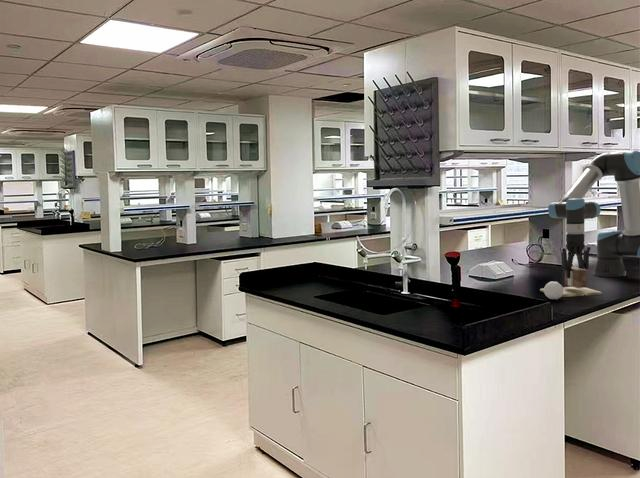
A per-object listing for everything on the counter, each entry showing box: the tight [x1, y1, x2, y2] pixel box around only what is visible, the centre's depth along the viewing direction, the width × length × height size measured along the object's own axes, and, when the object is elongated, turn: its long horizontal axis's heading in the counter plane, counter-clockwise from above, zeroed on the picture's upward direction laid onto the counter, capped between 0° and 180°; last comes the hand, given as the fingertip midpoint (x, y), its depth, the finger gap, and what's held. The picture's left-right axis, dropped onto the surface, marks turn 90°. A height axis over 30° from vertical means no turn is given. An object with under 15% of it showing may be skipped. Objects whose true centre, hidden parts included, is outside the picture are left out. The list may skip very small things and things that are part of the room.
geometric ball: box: [543, 281, 563, 300], centre depth 241 cm, size 8×8×8 cm
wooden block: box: [564, 266, 587, 288], centre depth 254 cm, size 4×10×8 cm, turn 7°
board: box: [539, 286, 603, 298], centre depth 254 cm, size 20×16×1 cm
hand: (575, 285), depth 254 cm, fingers closed on wooden block, 4 cm apart
